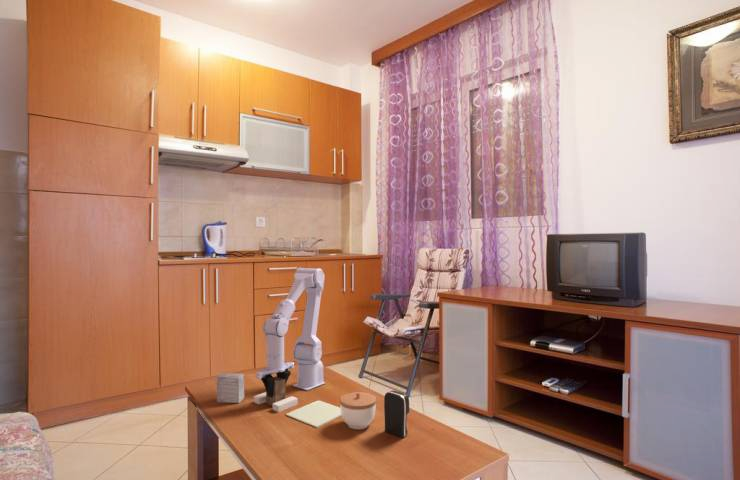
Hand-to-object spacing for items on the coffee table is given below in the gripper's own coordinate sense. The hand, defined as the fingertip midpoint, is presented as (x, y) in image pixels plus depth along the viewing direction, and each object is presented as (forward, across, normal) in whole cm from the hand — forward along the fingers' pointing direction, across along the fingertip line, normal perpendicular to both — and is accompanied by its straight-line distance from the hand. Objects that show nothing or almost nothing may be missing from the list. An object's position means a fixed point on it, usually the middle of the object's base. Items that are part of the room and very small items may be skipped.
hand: (275, 394), depth 137 cm
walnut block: (+3, 0, 0) cm, 3 cm away
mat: (+3, +3, -17) cm, 18 cm away
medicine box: (+3, -8, +14) cm, 16 cm away
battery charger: (+3, +8, -44) cm, 45 cm away
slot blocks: (+3, 0, 0) cm, 3 cm away
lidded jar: (+3, +5, -32) cm, 33 cm away
